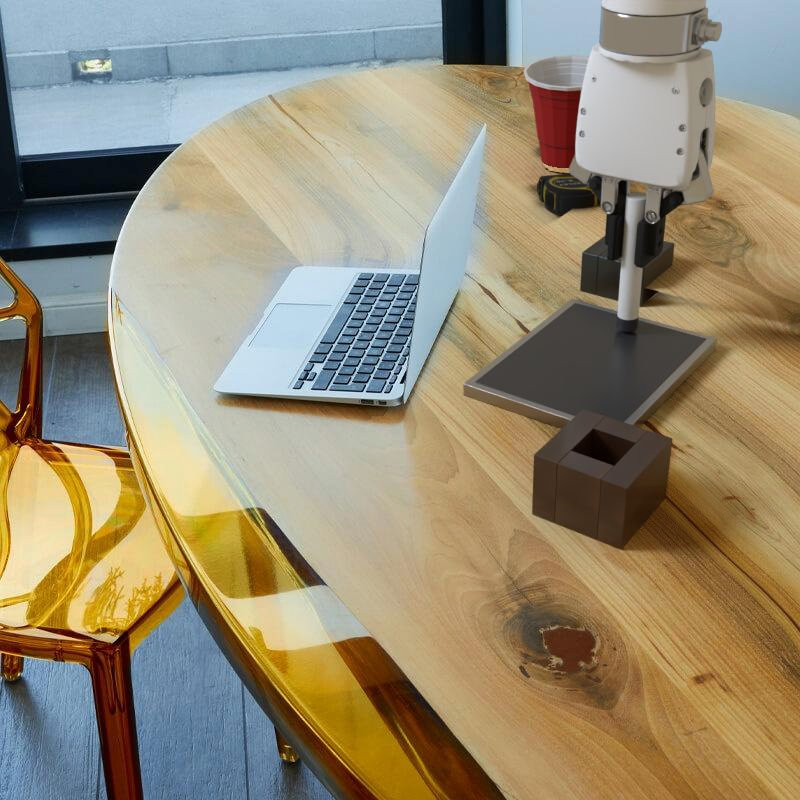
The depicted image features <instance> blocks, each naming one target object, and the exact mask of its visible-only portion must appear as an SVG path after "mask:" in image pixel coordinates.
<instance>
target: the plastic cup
mask: <svg viewBox="0 0 800 800" xmlns="http://www.w3.org/2000/svg"><path fill="white" fill-rule="evenodd" d="M589 56H590V55H576V54H569V55H568V54H567V55H554V56H548V57H544V58H539V59H537V60H535V61H533V62H531V63H529V64H527V66H526V67H524V69H523V75H524V78H525V80H526V82H527V83H528V87H529V91H530V96H531V99H532V107H533V113H534V121H535V122H534V123H535V128H536V129H535V130H536V135H537V140H538V144H539V152H540V154H539V155H540V160H541V163H542V162H543V163H544V164H546V165H548V166H552V167H557V168H569V167H570V164H571V162H572V160H573V158H574V155H575V143H576V129H577V118H578V110H579V103H580V97H581V91H582V86H583V81H584V76H585V72H586V68H587V64H588V60H589ZM543 163H542V164H543Z"/></svg>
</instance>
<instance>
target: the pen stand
mask: <svg viewBox="0 0 800 800" xmlns="http://www.w3.org/2000/svg"><path fill="white" fill-rule="evenodd" d="M673 440H674V439H673V437H670V436H667V435H664V434H661V433H658V432H654V431H652V430H648V429H646V428H642V427H640V428H639V427H636V426H633V425H630V424H627V423H624V422H621V421H618V420H615V419H612V418H609V417H605V416H603V415H600V414H597V413H594V412H591V411H588V410H585V409H582V410H581V411H580V412H579V413H578V414H577V415H576V416H575V417H574V418H573V419H572V420H571V421H570V422H569V423H567V424H566V425H565V426H564V427H563V428H562V429H561V428H560V430H558V431H557V432H556V433H555V434H554V435H553V436H552V437H551V438H550V439H549V440H548V441H547V442H545V444H544V445H542V446H541V448H539V449H538V450H537V451H536V452H535V453H534V454H533V470H532V497H531V498H532V502H531V507H532V508H531V514H532V515H534V516H536V517H538V518H541V519H544V520H545V521H548V522H551V523H554V524H556V525H558V526H561V527H563V528H566V529H569V530H571V531H573V532H576V533H578V534H581V535H584V536H586V537H589V538H590V539H594V540H597V541H599V542H601V543H603V544H607V545H609V546H611V547H614V548H617V549H619V550H623V548H625V546H626V545H627V544H628V543H629V542H630V540H631V539H632V538H633V537H634V536H635V534H636V533H637V532H638V531H639V529H640V528H641V527H642V526H643V525H644V524H645V523H646V522H647V520H648V519H649V518H650V517H651V516H652V514H653V513H654V512H655V511H656V510H657V509H658V508H659V506H660V505H661V504H662V503H663V502H664V500H665V499H666V498H667V493H668V492H667V491H668V481H669V474H670V465H671V457H672V448H673Z"/></svg>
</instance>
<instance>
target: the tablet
mask: <svg viewBox="0 0 800 800" xmlns="http://www.w3.org/2000/svg"><path fill="white" fill-rule="evenodd" d="M617 312H618V310H614V309H610V308H607V307H603V306H600V305H596V304H593V303H590V302H585V301H581V300H578V299H574V298H571V299H569V301H568V302H566V303H564V305H562V306H561V307H560V308H558V309H557V310H555V312H553V313H552V314H551V315H549V316H548V317H547V318H546V319H544V320H543V321H542V322H541V323H539V324H538V325H537V326H535V327H534V328H533V329H532V330H529V332H528V333H526V334H525V335H524V336H522V337H521V338H520V339H518V340H517V341H516V342H515V343H514V344H512V345H511V346H510V347H509V348H507V349H506V350H505V351H503V352H502V353H500V355H498V356H497V357H496V358H495V359H493V360H492V361H491V362H489V363H488V364H486V365H485V366H484V367H483V368H481V370H478V372H476V373H475V374H474V375H473V376H471V377H470V378H468V380H466V381H465V382H464V383H463V390H462V391H463V392H462V393H463V396H465V397H468V398H471V399H474V400H477V401H480V402H483V403H486V404H488V405H492V406H494V407H497V408H499V409H503V410H506V411H508V412H511V413H515V414H517V415H520V416H523V417H526V418H529V419H532V420H536V421H538V422H540V423H543V424H547V425H549V426H552V427H555V428H558V429H560V430H561V429H562V428H563V427H564V426H565V425H566V424H567V423H569V422H570V421H571V420H572V419H573V418H574V417H575V416H576V415H577V414H578V413H579V412H580V411H581V410H582V409H585V410H588V411H591V412H594V413H597V414H600V415H603V416H605V417H609V418H612V419H615V420H618V421H621V422H624V423H627V424H630V425H633V426H636V427H639V428H642V426H643V425H644V424H646V422H647V421H648V420H649V419H650V418H651V417H652V415H653V414H655V413H656V412H657V410H658V409H659V408H660V407H661V406H662V405H663V404H665V402H667V400H668V399H669V398H670V397H671V396H672V395H673V394H674V393H675V392H676V391H677V390H678V389H679V388H680V387H681V386H682V385H683V383H684V382H686V380H688V379H689V378H690V376H691V375H693V373H694V372H695V371H697V369H698V368H699V367H700V366H701V365H702V364H703V363H704V362H705V361H706V360H707V359H708V358H709V357H710V356H711V355H712V354H713V352H715V351H716V349H717V344H718V343H717V342H718V338H717V337H715V336H711V335H707V334H703V333H701V332H696V331H692V330H688V329H685V328H681V327H678V326H674V325H670V324H667V323H663V322H659V321H655V320H652V319H649V318H643V317H641V316H639V320H638V328H637V330H635V331H632V332H623V331H620V330H618V329H617V327H616V322H617Z"/></svg>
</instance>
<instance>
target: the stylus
mask: <svg viewBox="0 0 800 800" xmlns="http://www.w3.org/2000/svg"><path fill="white" fill-rule="evenodd" d="M646 194H647V193H645V192H641V191H632V192H630V193H629V194H627V195H626V205H625V218H624V232H623V245H622V258H621V272H620V285H619V298H618V300H617V311H618V312H617V322H616V327H617V329H618V330H620V331H623V332H632V331H635V330H637V328H638V320H639V317H640V315H639V314H640V307H641V306H640V294H641V282H642V271H643V268H639V267H636V265H635V264H634V258H635V246H636V234H637V225H638V222H639V221H641V220H642V219H643V218H644V213H645V205H646Z"/></svg>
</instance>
